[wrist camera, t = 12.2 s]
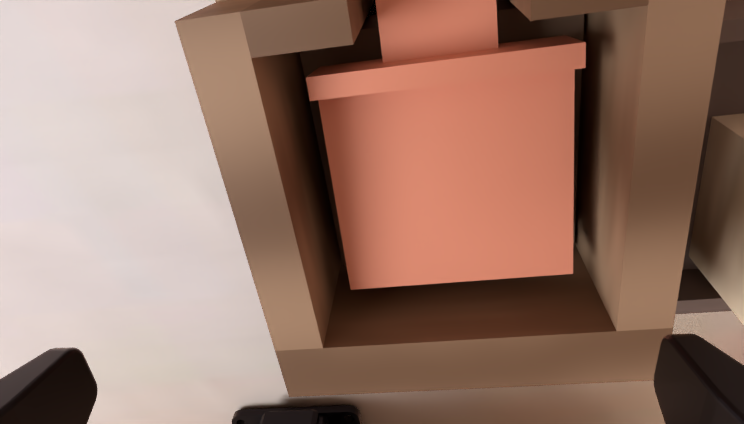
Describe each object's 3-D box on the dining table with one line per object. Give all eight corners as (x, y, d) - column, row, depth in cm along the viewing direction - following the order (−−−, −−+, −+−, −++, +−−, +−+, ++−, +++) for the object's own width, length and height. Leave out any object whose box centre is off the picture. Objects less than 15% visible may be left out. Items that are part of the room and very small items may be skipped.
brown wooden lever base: (600, 258, 21) (664, 379, 16) (319, 279, 23) (289, 396, 17) (649, -435, 12) (842, -721, 7) (179, -325, 14) (20, -484, 8)
